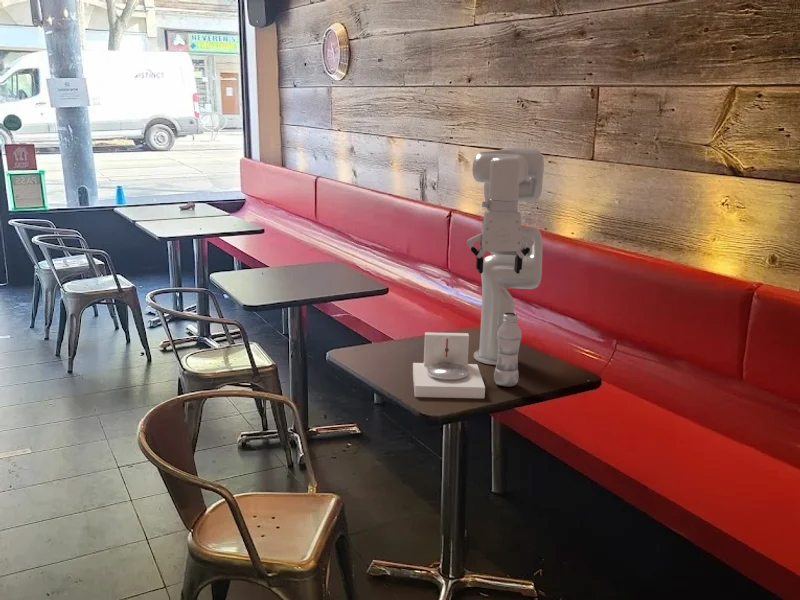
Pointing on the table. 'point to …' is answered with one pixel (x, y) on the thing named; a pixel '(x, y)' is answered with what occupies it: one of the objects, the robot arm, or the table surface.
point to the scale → (447, 351)
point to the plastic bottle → (508, 351)
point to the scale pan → (447, 371)
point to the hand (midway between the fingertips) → (498, 272)
